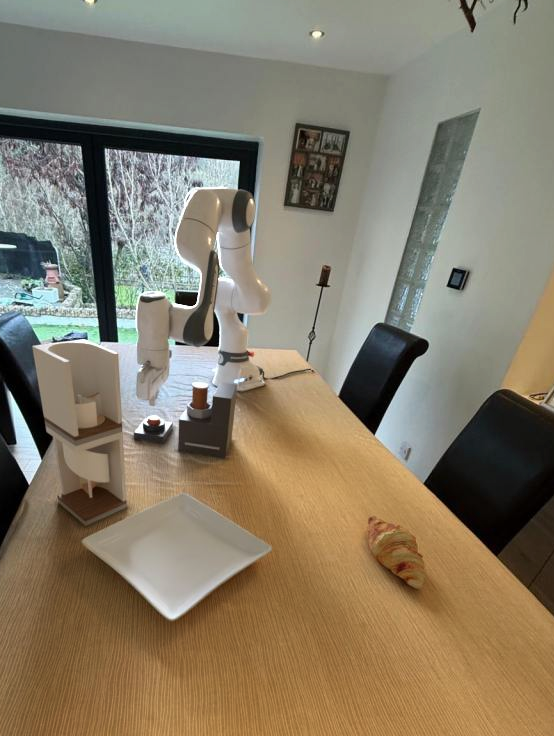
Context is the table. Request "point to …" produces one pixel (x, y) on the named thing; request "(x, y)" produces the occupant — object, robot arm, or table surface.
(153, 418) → the brew button
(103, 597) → the table surface
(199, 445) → the coffee maker
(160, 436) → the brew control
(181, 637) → the table surface
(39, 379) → the spiral staircase model
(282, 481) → the table surface
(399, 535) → the croissant
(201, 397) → the coffee pod
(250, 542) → the square plate
